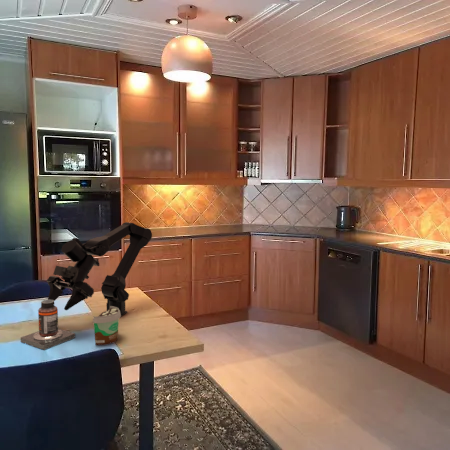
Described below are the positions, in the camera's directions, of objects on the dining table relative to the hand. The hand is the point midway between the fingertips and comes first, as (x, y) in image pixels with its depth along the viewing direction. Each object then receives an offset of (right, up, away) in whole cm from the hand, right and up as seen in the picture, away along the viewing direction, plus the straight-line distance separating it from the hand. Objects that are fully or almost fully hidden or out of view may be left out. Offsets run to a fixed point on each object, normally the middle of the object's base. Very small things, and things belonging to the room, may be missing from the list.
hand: (56, 307), depth 139 cm
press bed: (-2, -11, -2) cm, 11 cm away
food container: (+19, -11, -1) cm, 22 cm away
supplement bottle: (-2, -9, -2) cm, 9 cm away
